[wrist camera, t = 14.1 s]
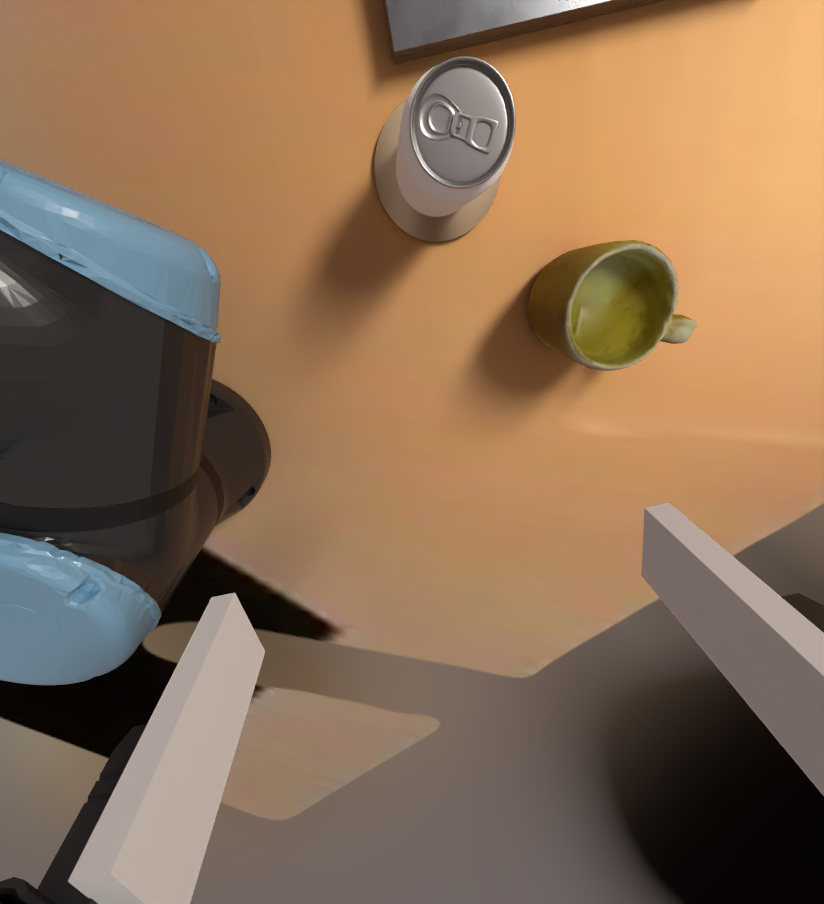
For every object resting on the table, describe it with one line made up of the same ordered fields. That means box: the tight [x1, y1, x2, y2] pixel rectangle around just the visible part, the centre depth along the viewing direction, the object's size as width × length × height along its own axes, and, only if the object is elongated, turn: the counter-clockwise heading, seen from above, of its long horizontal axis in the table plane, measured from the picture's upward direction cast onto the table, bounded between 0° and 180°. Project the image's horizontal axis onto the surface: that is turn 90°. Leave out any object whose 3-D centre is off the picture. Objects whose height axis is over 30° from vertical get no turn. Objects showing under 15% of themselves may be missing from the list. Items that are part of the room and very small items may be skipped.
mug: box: [528, 240, 697, 371], centre depth 35 cm, size 12×10×10 cm
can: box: [396, 56, 516, 217], centre depth 27 cm, size 6×6×12 cm
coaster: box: [374, 100, 500, 242], centre depth 33 cm, size 10×10×1 cm
